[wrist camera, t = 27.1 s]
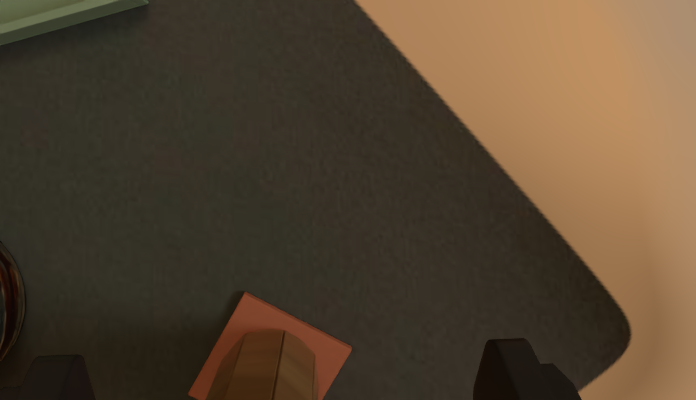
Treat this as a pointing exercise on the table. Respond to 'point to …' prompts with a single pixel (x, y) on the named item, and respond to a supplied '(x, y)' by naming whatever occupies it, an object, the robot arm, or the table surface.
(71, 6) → the tray
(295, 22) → the table surface
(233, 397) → the wooden octagonal cup
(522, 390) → the robot arm
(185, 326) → the table surface
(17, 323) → the jar
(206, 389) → the mat
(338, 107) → the table surface
